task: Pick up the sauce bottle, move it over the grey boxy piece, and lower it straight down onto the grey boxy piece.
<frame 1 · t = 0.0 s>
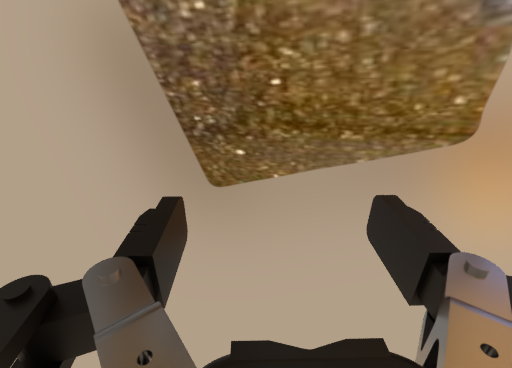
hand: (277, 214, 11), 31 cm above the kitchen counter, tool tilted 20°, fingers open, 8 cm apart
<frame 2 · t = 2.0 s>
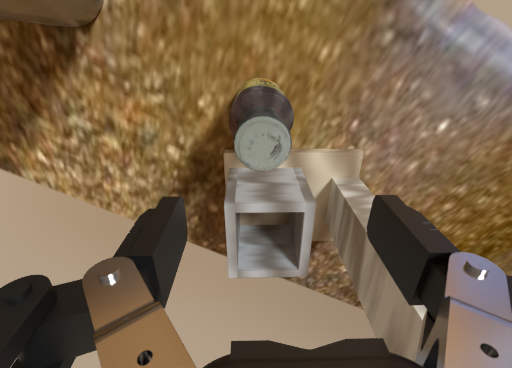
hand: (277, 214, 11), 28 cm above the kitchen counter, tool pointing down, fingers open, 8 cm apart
sauce bottle: (258, 99, 36), on the kitchen counter
grey boxy piece: (289, 196, 43), on the kitchen counter
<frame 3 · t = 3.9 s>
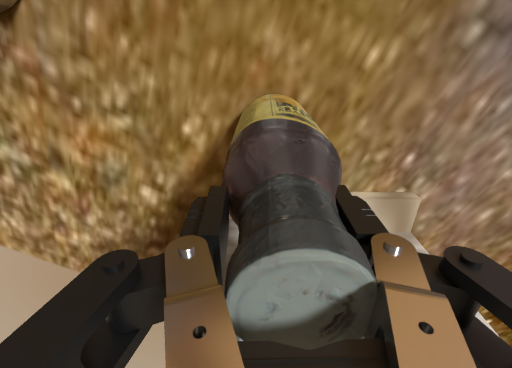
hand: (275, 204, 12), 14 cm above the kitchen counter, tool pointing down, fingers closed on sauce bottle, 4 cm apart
sauce bottle: (270, 124, 25), on the kitchen counter, touching gripper
grey boxy piece: (309, 251, 31), on the kitchen counter
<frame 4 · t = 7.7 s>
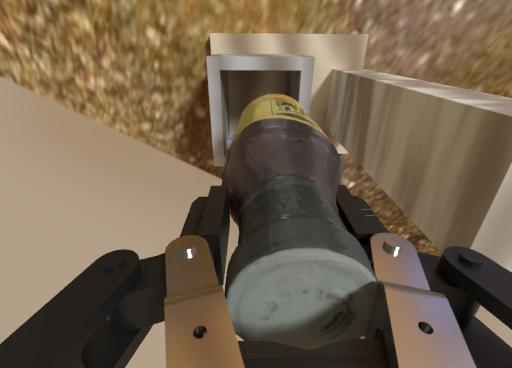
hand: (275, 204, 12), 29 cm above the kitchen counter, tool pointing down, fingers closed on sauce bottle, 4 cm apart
sauce bottle: (271, 124, 25), point 15 cm above the kitchen counter, touching gripper
grey boxy piece: (284, 97, 38), on the kitchen counter
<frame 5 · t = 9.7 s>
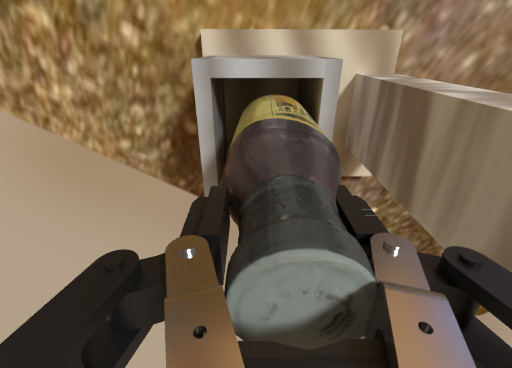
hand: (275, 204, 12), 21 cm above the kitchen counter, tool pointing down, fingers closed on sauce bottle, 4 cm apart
sauce bottle: (271, 124, 25), point 7 cm above the kitchen counter, touching gripper
grey boxy piece: (294, 109, 31), on the kitchen counter
when the fingers open (17 cm above the kitchen counter, at t = 11.2 s): sauce bottle drops 1 cm, resting on grey boxy piece.
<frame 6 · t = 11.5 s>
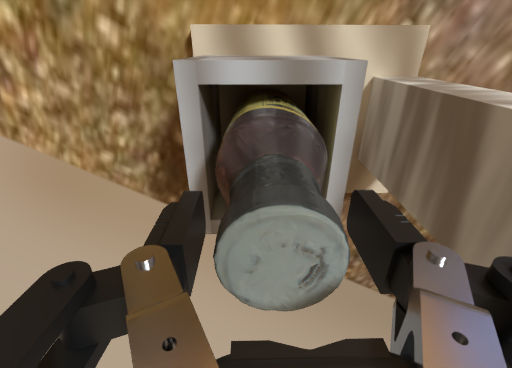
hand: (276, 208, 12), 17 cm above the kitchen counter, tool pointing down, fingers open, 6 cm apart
sauce bottle: (264, 119, 26), point 1 cm above the kitchen counter, touching grey boxy piece
grey boxy piece: (300, 117, 27), on the kitchen counter
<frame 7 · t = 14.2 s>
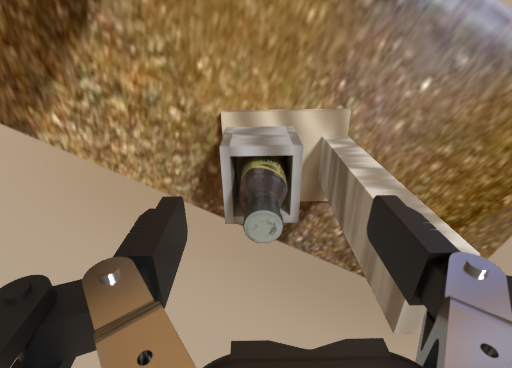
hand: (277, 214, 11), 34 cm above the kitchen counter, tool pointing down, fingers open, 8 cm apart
sauce bottle: (261, 159, 45), point 1 cm above the kitchen counter, touching grey boxy piece
grey boxy piece: (283, 156, 46), on the kitchen counter
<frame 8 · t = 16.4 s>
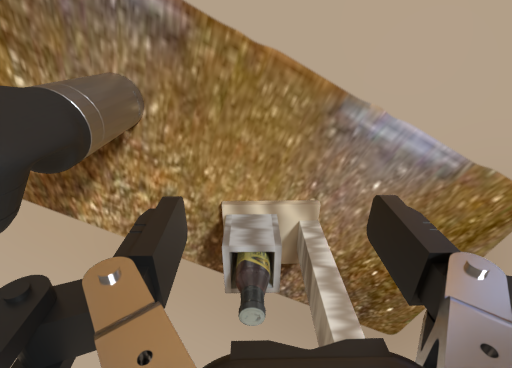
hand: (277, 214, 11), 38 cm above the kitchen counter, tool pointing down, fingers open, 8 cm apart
sauce bottle: (253, 235, 58), point 1 cm above the kitchen counter, touching grey boxy piece
grey boxy piece: (269, 231, 59), on the kitchen counter
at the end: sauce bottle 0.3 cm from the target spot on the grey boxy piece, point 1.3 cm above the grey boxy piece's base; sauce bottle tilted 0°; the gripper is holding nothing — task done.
